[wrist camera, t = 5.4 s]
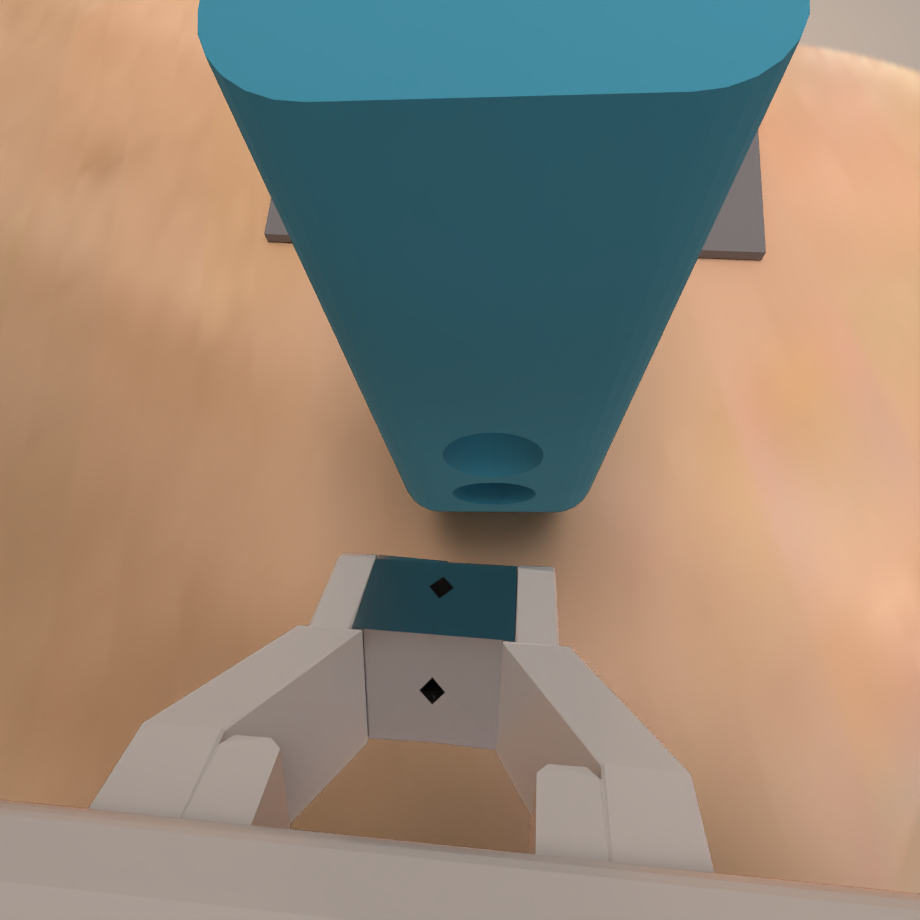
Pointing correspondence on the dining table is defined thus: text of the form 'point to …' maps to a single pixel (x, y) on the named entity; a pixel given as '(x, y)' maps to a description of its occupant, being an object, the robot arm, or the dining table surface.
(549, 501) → the block
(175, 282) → the dining table surface
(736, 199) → the mat
